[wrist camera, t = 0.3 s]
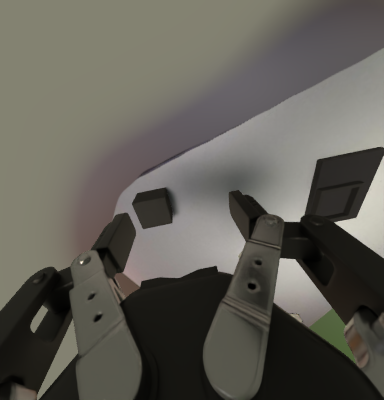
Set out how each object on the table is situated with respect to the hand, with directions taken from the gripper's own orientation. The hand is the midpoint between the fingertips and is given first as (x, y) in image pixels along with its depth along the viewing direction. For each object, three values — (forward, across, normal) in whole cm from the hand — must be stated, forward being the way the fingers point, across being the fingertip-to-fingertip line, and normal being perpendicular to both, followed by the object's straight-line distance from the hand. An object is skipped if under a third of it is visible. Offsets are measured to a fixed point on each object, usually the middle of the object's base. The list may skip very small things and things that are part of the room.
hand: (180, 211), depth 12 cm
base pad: (+16, -32, +13) cm, 38 cm away
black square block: (+16, +6, +7) cm, 19 cm away
